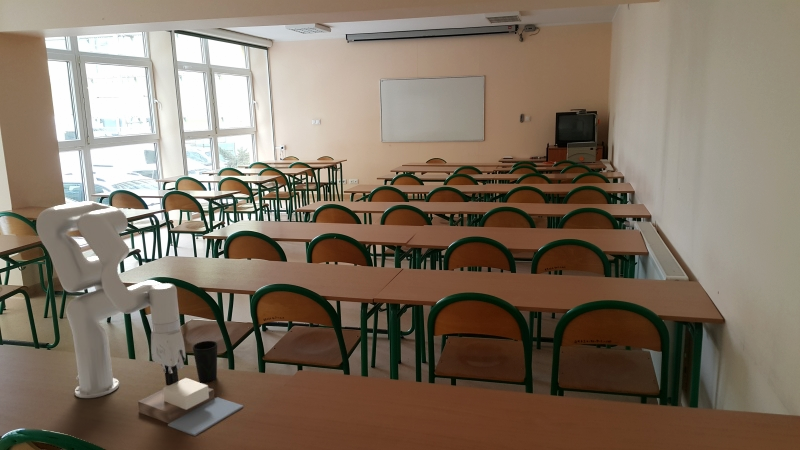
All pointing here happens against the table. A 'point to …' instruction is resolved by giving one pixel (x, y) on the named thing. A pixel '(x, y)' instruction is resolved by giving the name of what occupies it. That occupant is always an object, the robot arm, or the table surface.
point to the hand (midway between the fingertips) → (172, 383)
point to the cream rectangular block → (186, 393)
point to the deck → (166, 407)
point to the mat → (205, 416)
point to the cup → (206, 361)
